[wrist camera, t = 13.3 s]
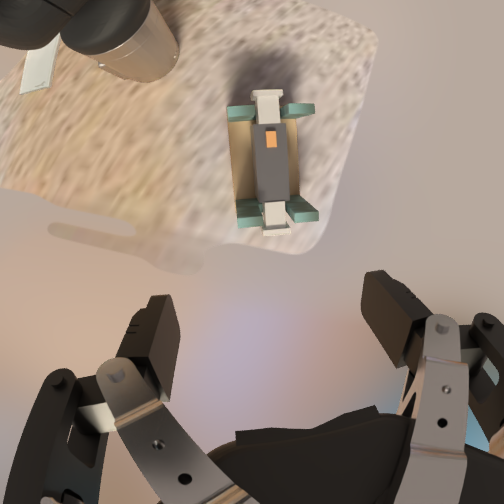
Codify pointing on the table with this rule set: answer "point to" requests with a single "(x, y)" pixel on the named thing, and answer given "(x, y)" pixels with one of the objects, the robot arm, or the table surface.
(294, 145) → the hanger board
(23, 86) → the hard drive
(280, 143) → the power strip
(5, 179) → the table surface
